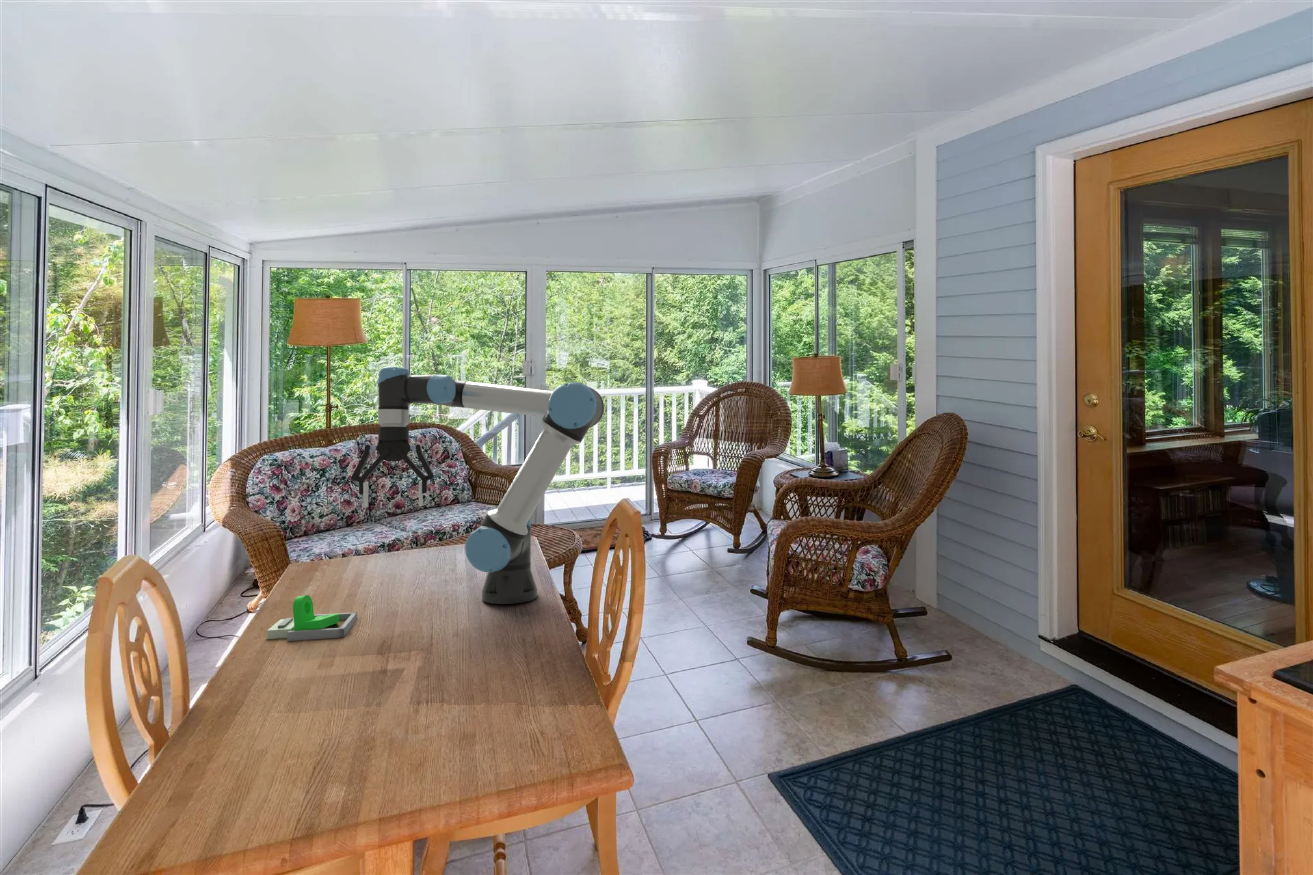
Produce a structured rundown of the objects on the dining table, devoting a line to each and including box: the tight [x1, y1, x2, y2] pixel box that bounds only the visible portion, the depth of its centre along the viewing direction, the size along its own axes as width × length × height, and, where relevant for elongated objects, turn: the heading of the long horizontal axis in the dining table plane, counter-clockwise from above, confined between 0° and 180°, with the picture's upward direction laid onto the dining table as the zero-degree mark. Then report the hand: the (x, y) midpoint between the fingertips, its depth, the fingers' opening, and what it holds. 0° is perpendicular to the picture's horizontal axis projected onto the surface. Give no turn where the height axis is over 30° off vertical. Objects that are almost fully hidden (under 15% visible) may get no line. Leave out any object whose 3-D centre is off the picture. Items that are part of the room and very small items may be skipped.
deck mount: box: [266, 611, 358, 642], centre depth 161 cm, size 17×16×3 cm
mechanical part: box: [292, 594, 340, 631], centre depth 162 cm, size 12×6×8 cm, turn 1°
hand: (393, 506), depth 175 cm, fingers open, 13 cm apart
